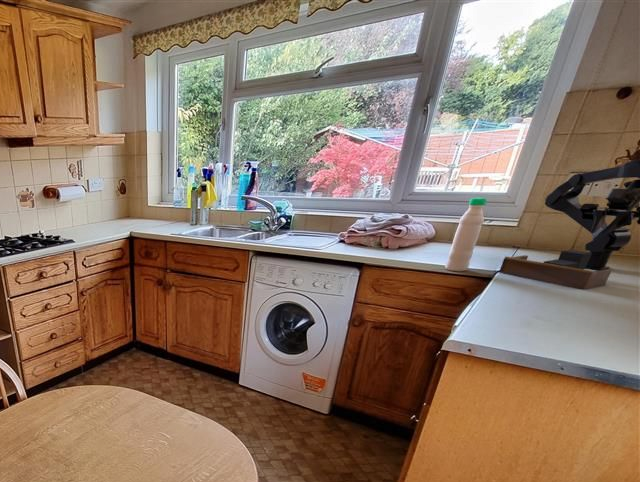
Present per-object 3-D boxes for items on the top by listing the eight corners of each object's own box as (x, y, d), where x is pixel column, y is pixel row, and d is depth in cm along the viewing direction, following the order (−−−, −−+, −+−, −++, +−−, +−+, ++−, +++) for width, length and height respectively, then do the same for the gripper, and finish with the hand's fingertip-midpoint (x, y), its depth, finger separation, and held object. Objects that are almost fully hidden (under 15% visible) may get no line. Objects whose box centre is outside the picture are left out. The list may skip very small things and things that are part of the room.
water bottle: (460, 272, 159) (484, 199, 147) (440, 269, 164) (462, 198, 153) (470, 270, 162) (495, 198, 150) (451, 266, 167) (473, 196, 155)
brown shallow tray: (519, 268, 162) (525, 253, 159) (604, 284, 141) (613, 267, 138) (498, 272, 158) (504, 256, 155) (583, 289, 137) (591, 271, 135)
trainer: (560, 272, 156) (570, 249, 152) (581, 276, 150) (592, 252, 147) (536, 276, 152) (546, 253, 148) (558, 280, 146) (569, 256, 143)
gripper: (594, 178, 149) (561, 214, 151) (670, 179, 134) (632, 219, 135) (597, 201, 155) (565, 235, 157) (670, 205, 140) (633, 243, 141)
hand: (596, 233), depth 148 cm, fingers open, 3 cm apart
